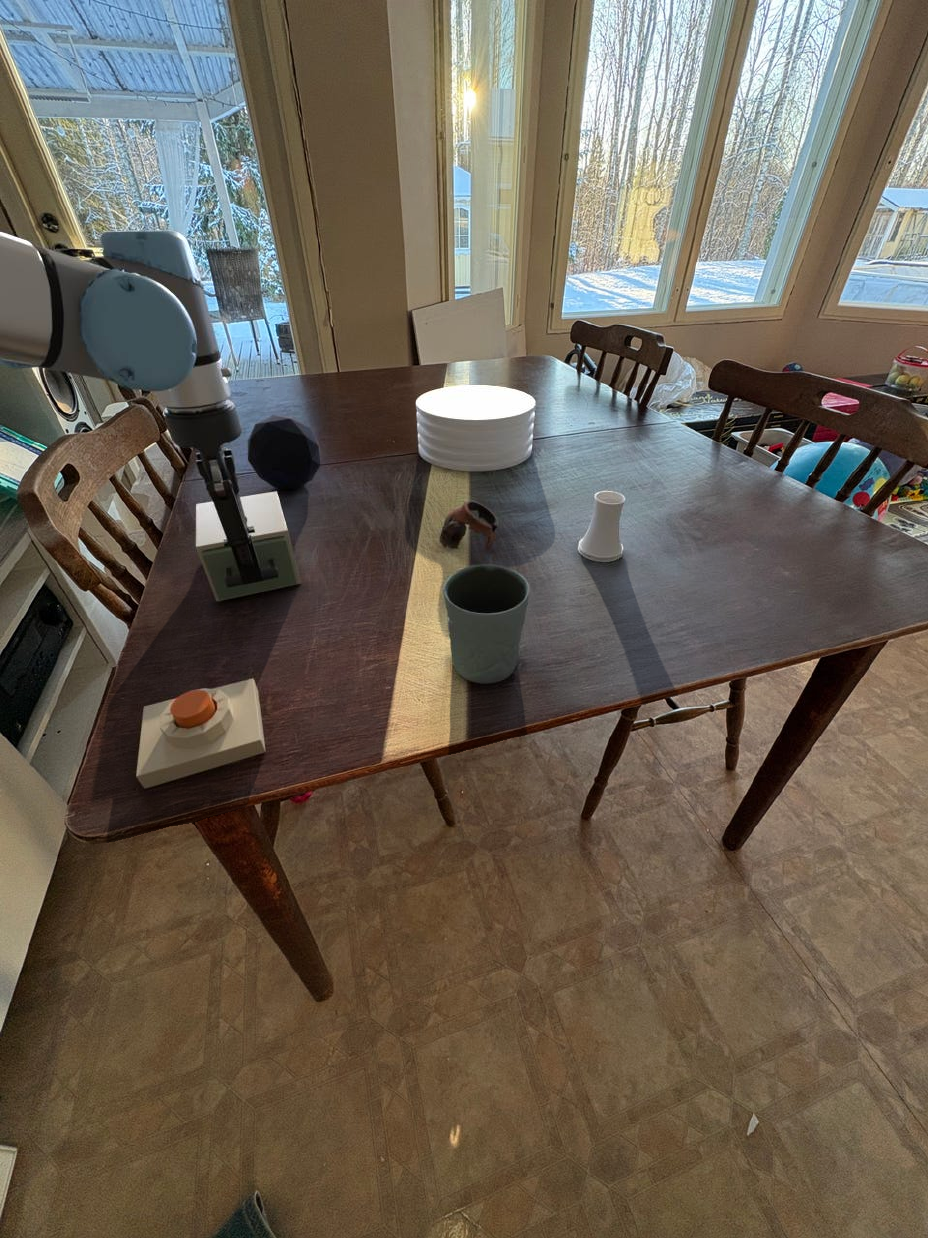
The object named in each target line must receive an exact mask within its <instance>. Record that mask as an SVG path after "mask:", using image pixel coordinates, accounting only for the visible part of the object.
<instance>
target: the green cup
mask: <svg viewBox="0 0 928 1238" xmlns="http://www.w3.org/2000/svg"><path fill="white" fill-rule="evenodd" d="M442 593H443V600H444V605H445V610H446V616H447V618H448V621H447V631H448V637H449V640H450V641H449V643H450V644H449V645H450V654H451V662H452V666H453V668H454V669H455V671H456V673H457V674H458V675H459V676H461V677H462V678H464V679H465V680H467V681H470V682H472V683H477V684H487V685H489V684H494V683H495V684H496V683H498V682H501V681H503V680H506V679H507V678H509V677H510V676H511V675H512V674H513V673H514V672H515V669H516V667H517V664H518V659H519V654H520V643H521V638H522V637H521V636H522V631H523V627H524V624H525V618H526V612H527V608H528V604H529V598H530V594H531V587H530V584H529V582H528V580H527V579H526V578H525V576H523V575H522V574H521V573H520V572H518V571H516V570H515V569H513V568H510V567H507V566H504V565H499V564H494V563H493V564H490V563H479V564H473V565H468V566H465V567H461V568H460V569H458V570H456V571H455V572H453V573H452V574H451V575H450V576H449V577H448V578H447V579H446V580H445V582H444V584H443V590H442Z"/></svg>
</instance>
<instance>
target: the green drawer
mask: <svg viewBox="0 0 928 1238" xmlns="http://www.w3.org/2000/svg"><path fill="white" fill-rule="evenodd" d="M253 544H254V547H255V551H256V554H257V557H258V561H259V564H260V567H261V571H262V574H263V578H264V581H260V582H255V583H251V584H246V585H243V582H242V579H241V576H240V573H239V570H238V567H237V564H236V561H235V558H234V555H233V552H232V549H231V547H230V546H225V547H220V548H214V549H209V551H204V552H202V556H203V559H204V561H205V564H206V567H207V569H208V572H209V575H210V577H211V580H212V583H213V585H214V588H215V591H216V593H217V596H218V598H219V600H221V601H224V600H223V599H226V600H229V599H228V598H231V599H233V598H232V597H235V598H238V597H237V596H240V597H243V596H242V595H245V596H247V595H246V594H249V595H252V594H251V593H254V594H257V593H256V592H259V593H261V592H260V591H264V592H266V591H265V590H268V591H271V590H270V589H273V590H275V589H274V588H278V589H280V588H279V587H282V588H285V587H284V586H287V587H289V586H288V585H292V586H294V585H293V584H296V585H298V584H297V582H296V578H295V574H294V570H293V566H292V562H291V558H290V554H289V550H288V546H287V543H286V539H285V536H284V537H280V536H279V537H274V538H268V539H263V540H258V541H253Z"/></svg>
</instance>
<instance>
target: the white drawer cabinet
mask: <svg viewBox="0 0 928 1238" xmlns="http://www.w3.org/2000/svg"><path fill="white" fill-rule="evenodd" d="M240 499H241V503H242V506H243V510H244V513H245V516H246V517H247V526H248V527H251V526H254V529H255V532H254V533H249V535H251V537H252V541H258V540H263V539H268V538H274V537H279V536H280V537H284V536H285V539H286V543H287V546H288V550H289V554H290V558H291V562H292V566H293V570H294V574H295V578H296V582H297V584H293V585H288V586H284V587H279V588H274V589H270V590H265V591H260V592H256V593H251V594H246V595H242V596H237V597H232V598H228V599H223V600H219V598H218V596H217V593H216V591H215V588H214V585H213V583H212V580H211V577H210V575H209V572H208V569H207V567H206V564H205V561H204V559H203V556H202V552H204V551H209V549H214V548H220V547H225V546H224V539H227V538H226V535H225V533H224V530H223V527H222V525H221V522H220V519H219V517H218V514H217V511H216V508H215V506H214V503H213V501H212V500H211V501H206V502H201V503H196V504H195V549H196V551H197V554H198V557H199V560H200V562H201V564H202V567H203V569H204V572H205V575H206V578H207V581H208V583H209V586H210V588H211V591H212V592H213V596H214V599H215V601H216V602H222V601H225V600H230V599H235V598H240V597H244V596H249V595H253V594H258V593H262V592H263V593H264V592H268V591H273V590H277V589H282V588H286V587H292V586H296V585H300V584H301V583H302V581H301V578H300V574H299V571H298V565H297V562H296V558H295V553H294V550H293V545H292V542H291V538H290V534H289V530H288V527H287V523H286V520H285V516H284V512H283V509H282V505H281V502H280V501H281V500H280V498H279V495H278V491H277V490H275V491H270V492H263V493H257V494H250V495H245V496H244V495H243V496H240Z"/></svg>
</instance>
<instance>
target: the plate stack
mask: <svg viewBox="0 0 928 1238" xmlns="http://www.w3.org/2000/svg"><path fill="white" fill-rule="evenodd" d="M415 409H416V422H417V423H416V429H417V443H418V454H419V455H420V457H421V458H422V459H423V460H424V461H425V462H427V463H429V464H431V465H433V466H436V467H438V468H443V469H446V470H452V471H460V472H491V471H499V470H504V469H508V468H512V467H514V466H518V465H520V464H522V463H523V462H525V461H527V460H528V459H529V458H530V457H531V455H532V451H533V441H534V434H533V433H534V428H535V427H534V426H535V424H534V422H535V416H536V415H535V410H536V400H535V398H534V397H533V396H532V395H530V394H528V393H526V392H524V391H521V390H518V389H516V388H515V389H514V388H510V387H505V386H497V385H483V384H482V385H481V384H473V385H472V384H471V385H470V384H468V385H455V386H447V387H441V388H436V389H433V390H430V391H428V392H425V393H423V394H421V395H420V396H418V397H417V399H416V400H415Z"/></svg>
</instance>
